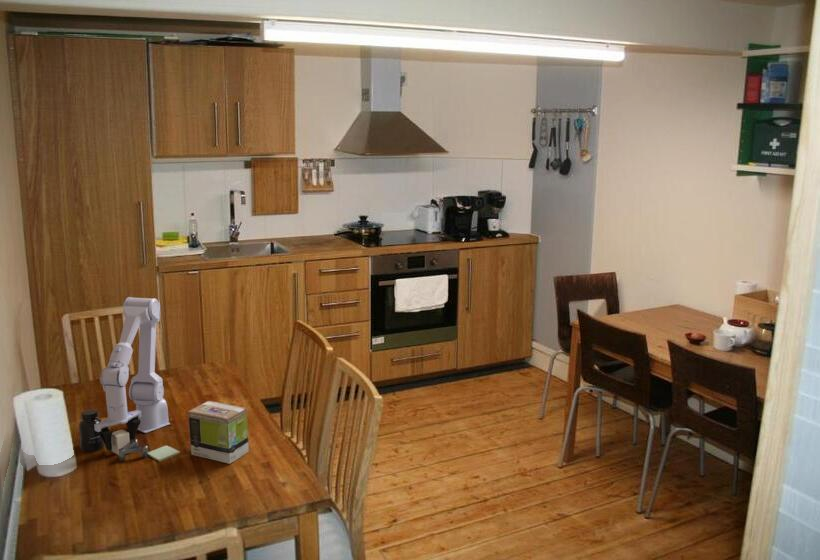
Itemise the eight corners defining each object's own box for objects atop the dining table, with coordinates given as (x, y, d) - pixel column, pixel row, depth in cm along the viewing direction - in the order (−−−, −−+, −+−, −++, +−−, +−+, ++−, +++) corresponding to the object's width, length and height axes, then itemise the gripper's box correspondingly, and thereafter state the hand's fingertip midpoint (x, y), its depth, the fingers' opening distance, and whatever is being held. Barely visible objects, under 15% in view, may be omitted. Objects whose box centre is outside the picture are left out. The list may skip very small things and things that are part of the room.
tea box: (250, 451, 232) (247, 407, 228) (229, 465, 223) (226, 419, 219) (211, 442, 238) (208, 398, 234) (189, 455, 229) (186, 410, 225)
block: (123, 446, 234) (122, 429, 233) (130, 450, 232) (129, 432, 230) (111, 451, 231) (110, 433, 230) (118, 455, 229) (117, 437, 227)
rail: (136, 448, 233) (135, 438, 232) (151, 456, 228) (150, 445, 227) (113, 457, 227) (112, 446, 226) (128, 465, 222) (127, 454, 221)
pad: (166, 446, 234) (166, 445, 234) (179, 453, 230) (179, 451, 230) (146, 454, 229) (146, 453, 229) (159, 461, 225) (159, 459, 224)
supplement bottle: (95, 453, 230) (92, 417, 227) (76, 451, 231) (72, 415, 228) (108, 443, 236) (105, 408, 233) (89, 441, 238) (86, 406, 235)
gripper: (101, 415, 220) (105, 457, 223) (145, 400, 231) (148, 441, 234) (89, 409, 224) (93, 450, 227) (132, 395, 235) (136, 434, 238)
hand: (120, 445), depth 231 cm, fingers open, 7 cm apart
